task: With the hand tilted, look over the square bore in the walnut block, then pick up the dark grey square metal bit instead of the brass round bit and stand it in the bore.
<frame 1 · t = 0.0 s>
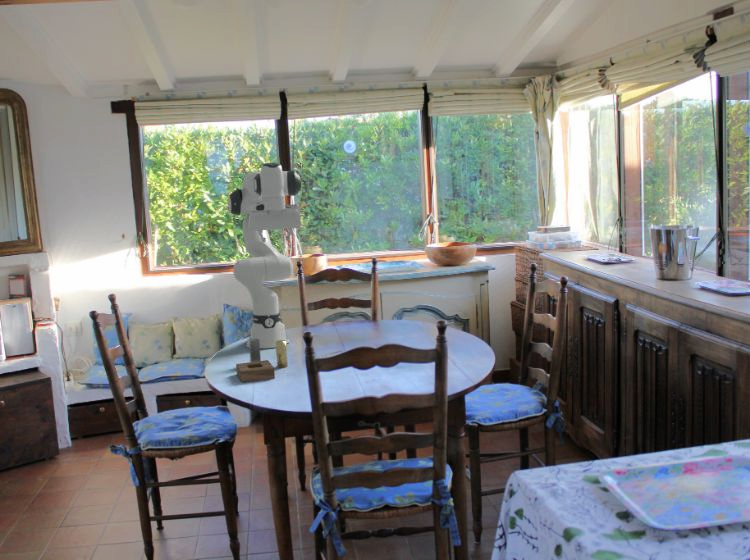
hand: (275, 241, 280), 48 cm above the table, tool pointing down, fingers open, 8 cm apart
square bit: (255, 364, 283), on the table
bore block: (255, 376, 266), on the table
round bit: (282, 366, 278), on the table
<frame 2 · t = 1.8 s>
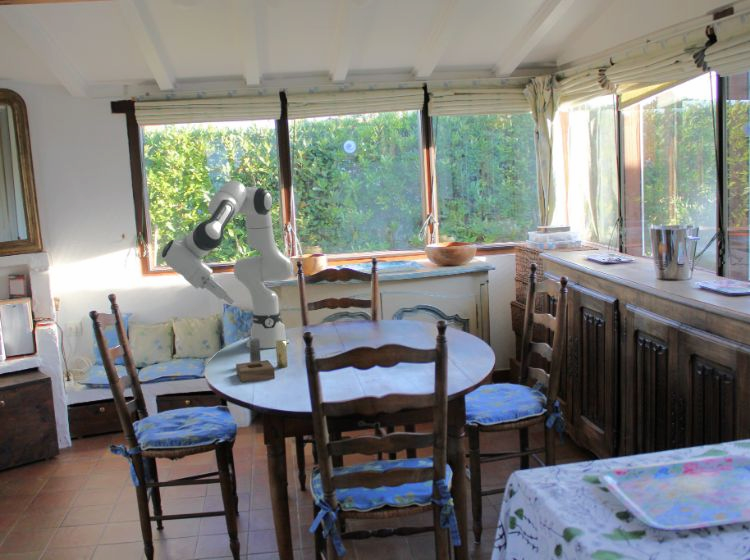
hand: (230, 301, 263), 28 cm above the table, tool tilted 45°, fingers open, 8 cm apart
nothing on the table moved.
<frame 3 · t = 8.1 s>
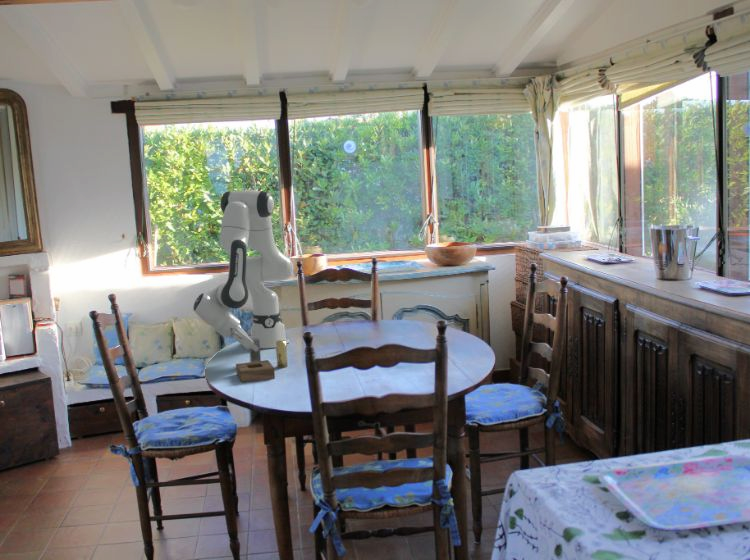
hand: (256, 348, 282), 6 cm above the table, tool tilted 45°, fingers closed on square bit, 4 cm apart
square bit: (255, 364, 283), on the table, touching gripper
everything else where it was.
when the fingers open (8 cm above the table, at t = 14.1 s): square bit drops 2 cm, resting in bore block.
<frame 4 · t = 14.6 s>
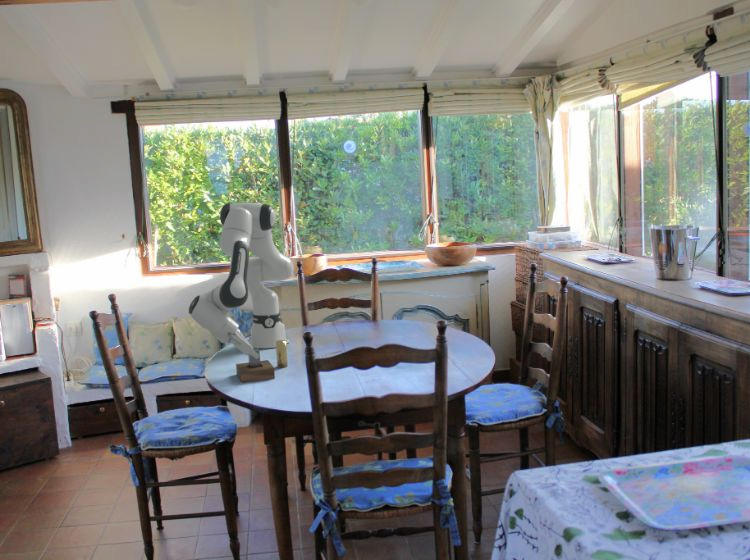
hand: (255, 354, 265), 8 cm above the table, tool tilted 45°, fingers open, 8 cm apart
square bit: (255, 376, 266), resting in bore block
everything else where it was.
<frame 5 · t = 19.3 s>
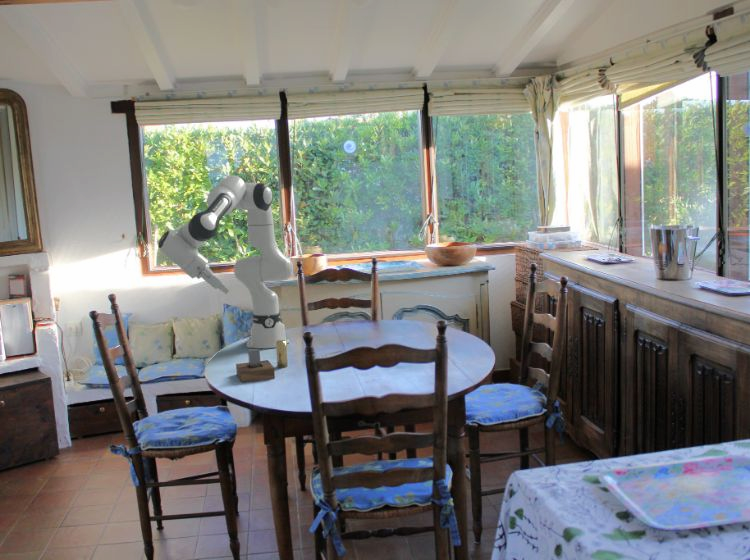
hand: (225, 290, 268), 31 cm above the table, tool tilted 45°, fingers open, 8 cm apart
nothing on the table moved.
at the end: square bit 0.1 cm off-centre on the bore block, point 0.0 cm above the bore block's base; square bit tilted 0°; the gripper is holding nothing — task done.
